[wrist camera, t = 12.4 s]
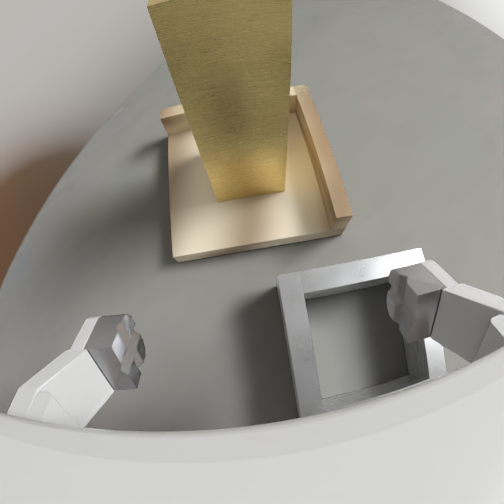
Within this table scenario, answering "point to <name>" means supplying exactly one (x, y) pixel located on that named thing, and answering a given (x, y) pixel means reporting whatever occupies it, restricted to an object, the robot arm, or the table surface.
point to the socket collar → (300, 341)
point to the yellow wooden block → (232, 86)
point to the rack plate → (257, 207)
